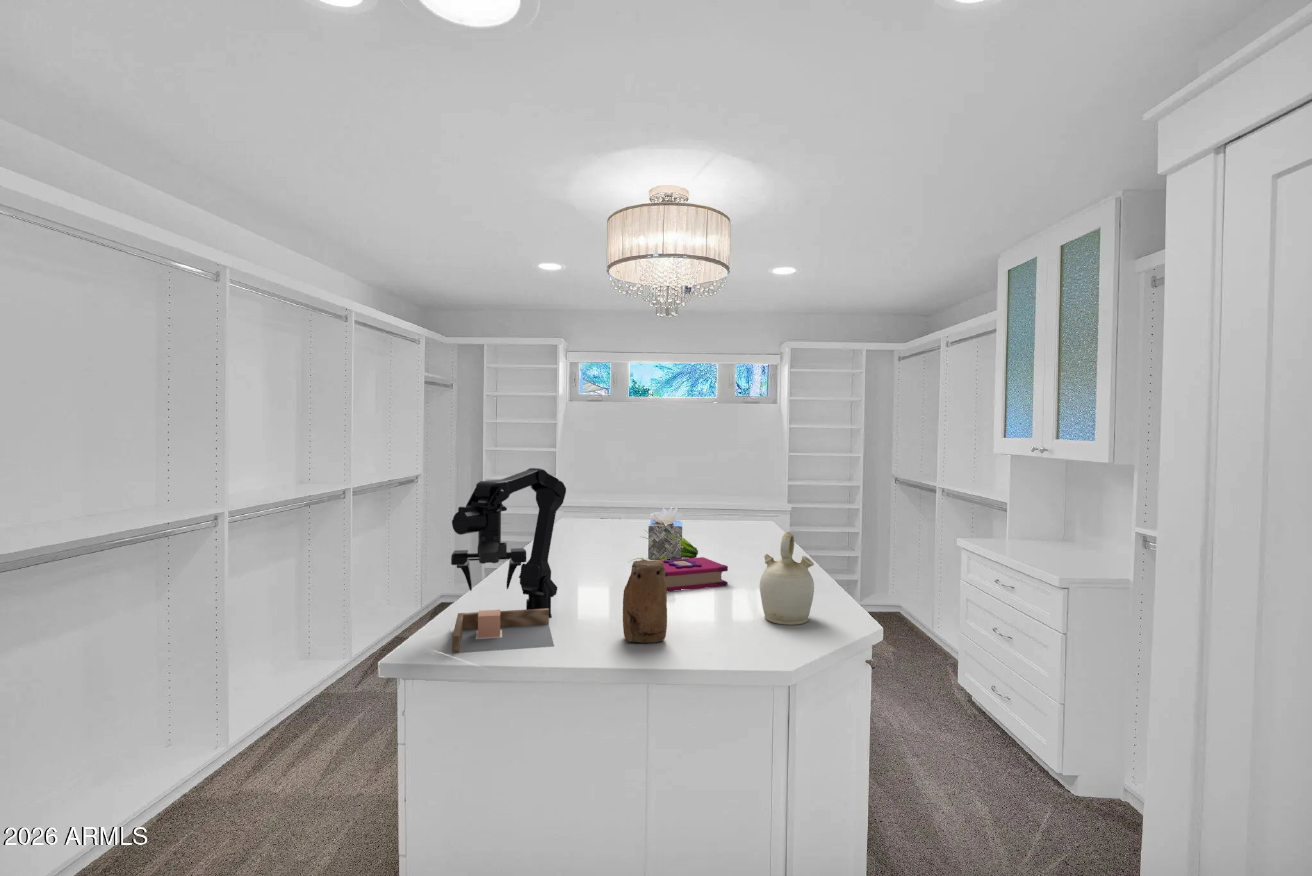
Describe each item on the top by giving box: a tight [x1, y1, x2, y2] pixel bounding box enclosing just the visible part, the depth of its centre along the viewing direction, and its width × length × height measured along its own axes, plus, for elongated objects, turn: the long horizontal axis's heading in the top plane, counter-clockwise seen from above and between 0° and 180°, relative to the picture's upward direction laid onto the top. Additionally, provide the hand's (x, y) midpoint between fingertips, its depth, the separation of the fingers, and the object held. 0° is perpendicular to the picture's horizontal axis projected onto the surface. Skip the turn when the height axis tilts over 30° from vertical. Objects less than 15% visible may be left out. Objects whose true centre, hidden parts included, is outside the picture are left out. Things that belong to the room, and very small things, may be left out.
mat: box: [458, 623, 555, 654], centre depth 165 cm, size 24×20×1 cm
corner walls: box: [451, 608, 550, 654], centre depth 165 cm, size 24×20×4 cm
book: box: [660, 556, 729, 592], centre depth 228 cm, size 21×28×8 cm
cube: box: [478, 609, 501, 638], centre depth 167 cm, size 6×6×6 cm
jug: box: [759, 531, 815, 626], centre depth 184 cm, size 15×16×25 cm
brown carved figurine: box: [622, 559, 668, 644], centre depth 164 cm, size 11×8×20 cm
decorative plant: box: [628, 530, 699, 563], centre depth 264 cm, size 18×30×15 cm, turn 94°
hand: (489, 589), depth 167 cm, fingers open, 9 cm apart
